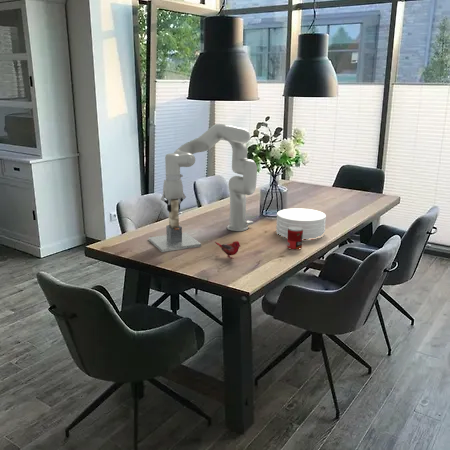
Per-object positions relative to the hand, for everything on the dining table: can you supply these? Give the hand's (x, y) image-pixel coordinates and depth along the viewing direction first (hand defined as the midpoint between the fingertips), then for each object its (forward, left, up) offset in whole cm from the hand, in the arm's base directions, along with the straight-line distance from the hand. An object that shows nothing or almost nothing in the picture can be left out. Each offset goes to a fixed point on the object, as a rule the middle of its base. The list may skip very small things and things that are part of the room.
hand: (173, 210), depth 266 cm
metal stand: (0, 0, -18) cm, 18 cm away
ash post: (0, 0, -14) cm, 14 cm away
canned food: (-55, +34, -18) cm, 67 cm away
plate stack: (-73, +13, -18) cm, 77 cm away
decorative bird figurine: (-16, +32, -18) cm, 40 cm away
